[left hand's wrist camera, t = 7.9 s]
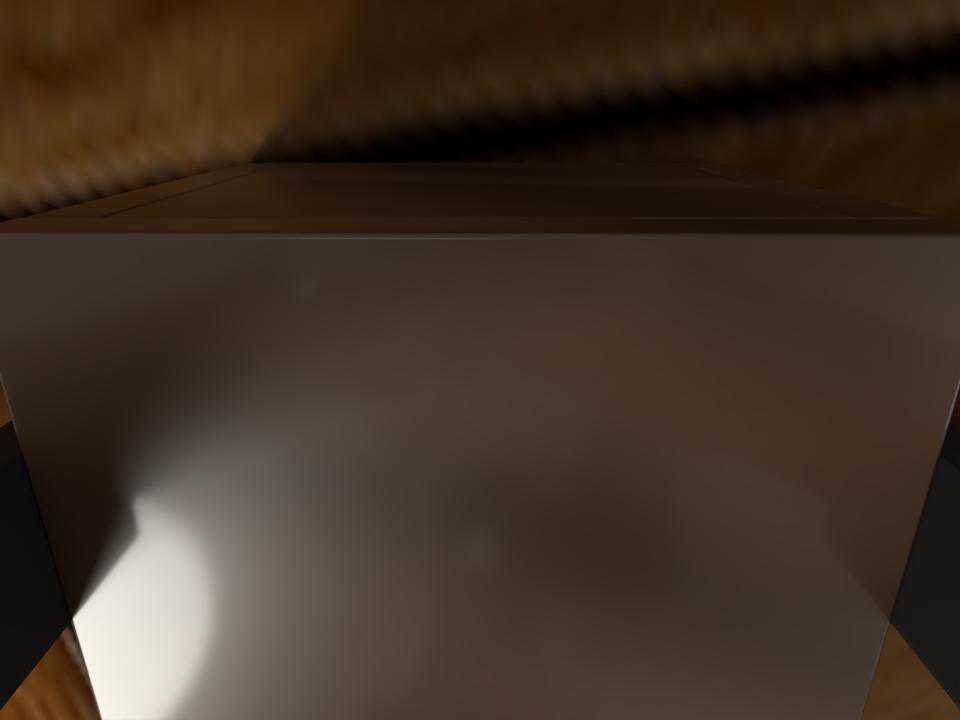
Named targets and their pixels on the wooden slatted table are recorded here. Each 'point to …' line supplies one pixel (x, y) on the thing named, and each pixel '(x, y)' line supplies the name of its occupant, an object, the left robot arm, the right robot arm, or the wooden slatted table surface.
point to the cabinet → (480, 437)
